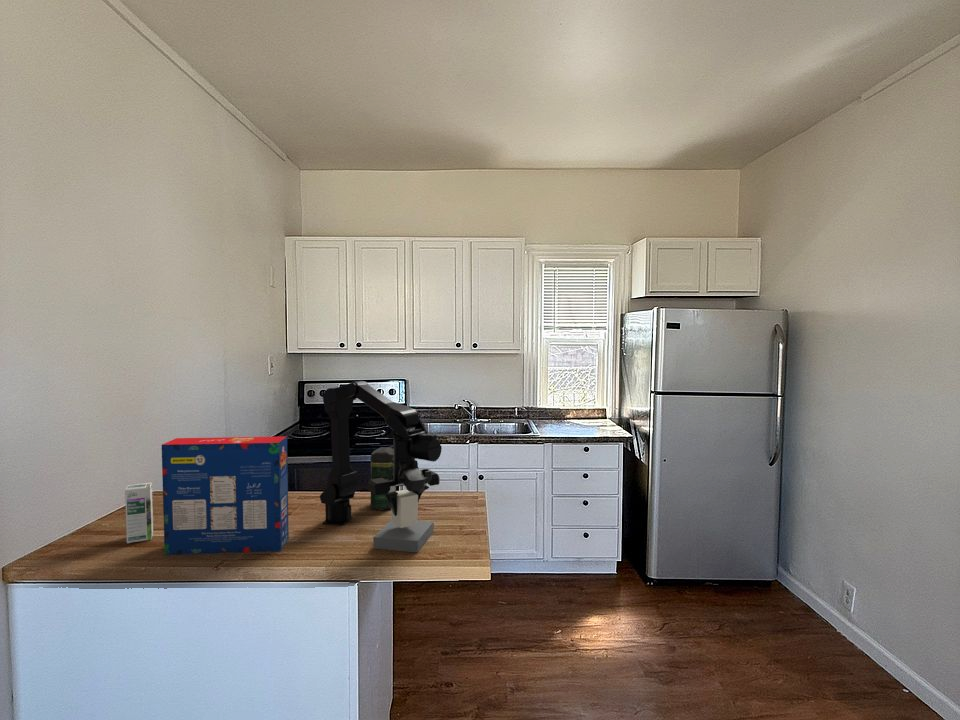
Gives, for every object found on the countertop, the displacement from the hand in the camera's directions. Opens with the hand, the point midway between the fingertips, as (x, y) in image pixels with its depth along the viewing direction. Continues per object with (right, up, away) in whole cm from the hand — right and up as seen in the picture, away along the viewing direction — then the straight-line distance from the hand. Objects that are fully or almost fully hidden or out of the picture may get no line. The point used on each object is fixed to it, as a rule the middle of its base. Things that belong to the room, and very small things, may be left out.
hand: (404, 513), depth 141 cm
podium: (0, -7, 0) cm, 7 cm away
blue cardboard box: (-45, -8, -5) cm, 46 cm away
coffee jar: (-11, -6, +28) cm, 31 cm away
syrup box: (-71, -7, +1) cm, 72 cm away
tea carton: (0, -3, 0) cm, 2 cm away
